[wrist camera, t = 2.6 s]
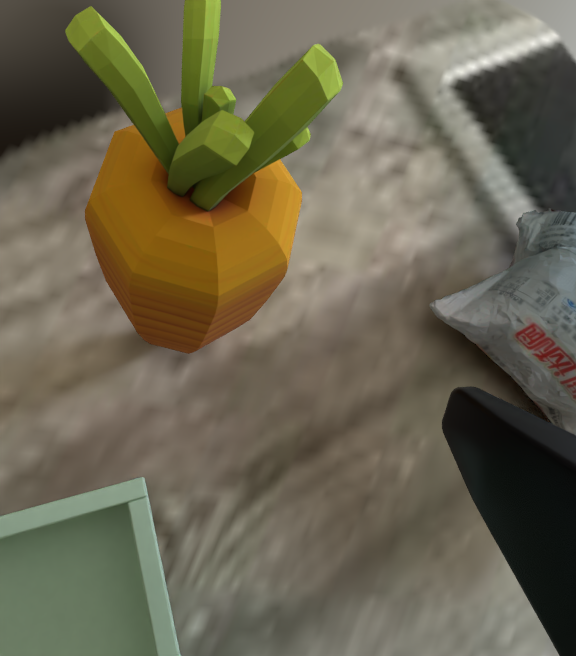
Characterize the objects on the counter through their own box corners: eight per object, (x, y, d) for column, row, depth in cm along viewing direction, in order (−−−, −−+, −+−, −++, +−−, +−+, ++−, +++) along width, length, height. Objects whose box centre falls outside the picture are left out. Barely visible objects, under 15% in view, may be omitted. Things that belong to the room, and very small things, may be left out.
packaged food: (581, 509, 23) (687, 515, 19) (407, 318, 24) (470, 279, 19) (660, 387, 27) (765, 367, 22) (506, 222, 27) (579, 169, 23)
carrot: (86, 340, 20) (-57, 21, 6) (165, 251, 22) (194, -148, 8) (189, 414, 20) (277, 268, 6) (259, 320, 22) (446, 47, 8)
